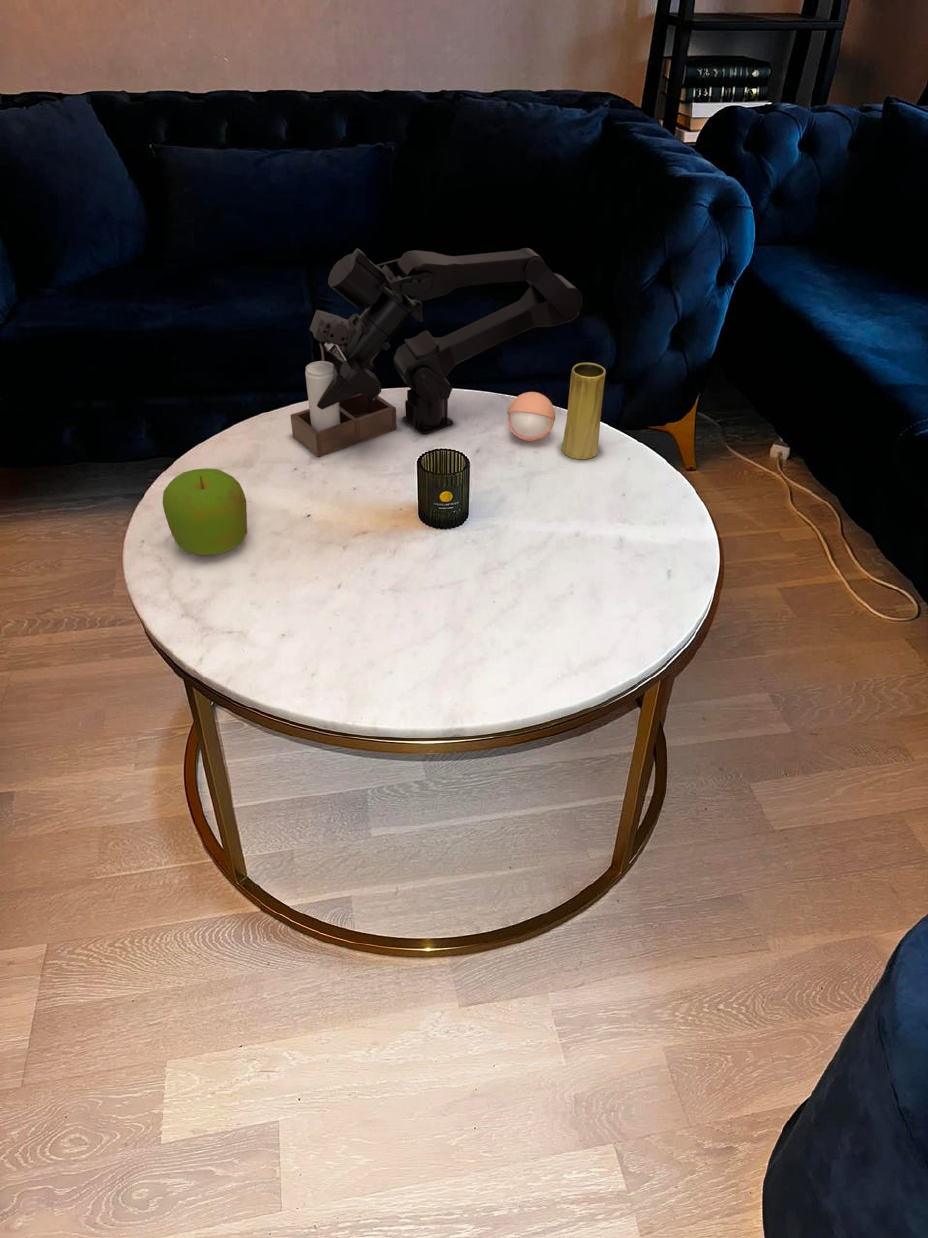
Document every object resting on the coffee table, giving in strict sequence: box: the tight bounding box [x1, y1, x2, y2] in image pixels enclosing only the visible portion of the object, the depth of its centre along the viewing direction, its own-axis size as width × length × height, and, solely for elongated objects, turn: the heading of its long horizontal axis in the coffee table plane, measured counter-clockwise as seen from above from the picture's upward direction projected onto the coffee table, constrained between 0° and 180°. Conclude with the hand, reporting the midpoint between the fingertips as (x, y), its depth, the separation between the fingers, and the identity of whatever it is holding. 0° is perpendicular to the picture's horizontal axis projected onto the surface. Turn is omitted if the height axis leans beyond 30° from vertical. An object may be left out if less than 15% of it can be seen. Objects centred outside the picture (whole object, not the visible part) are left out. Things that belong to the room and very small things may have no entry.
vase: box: [560, 362, 607, 460], centre depth 150 cm, size 6×6×14 cm
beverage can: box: [304, 360, 340, 432], centre depth 152 cm, size 5×5×12 cm
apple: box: [161, 467, 248, 556], centre depth 130 cm, size 11×11×11 cm
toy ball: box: [506, 391, 556, 442], centre depth 155 cm, size 8×8×8 cm
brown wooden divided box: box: [290, 394, 397, 458], centre depth 156 cm, size 15×8×4 cm, turn 127°
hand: (315, 400), depth 151 cm, fingers closed on beverage can, 5 cm apart
